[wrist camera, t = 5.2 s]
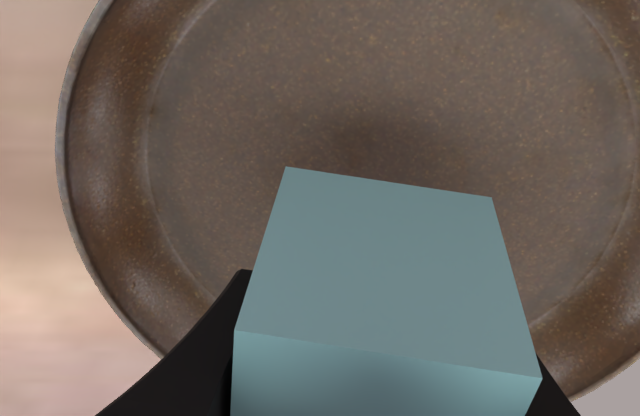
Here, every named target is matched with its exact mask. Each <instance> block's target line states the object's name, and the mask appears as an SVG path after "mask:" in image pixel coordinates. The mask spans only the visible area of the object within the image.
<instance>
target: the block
mask: <svg viewBox="0 0 640 416" xmlns="http://www.w3.org/2000/svg"><path fill="white" fill-rule="evenodd" d="M542 379H543V378H542V374H541V371H540V367H539V364H538V360H537V357H536V353H535V350H534V346H533V342H532V339H531V335H530V332H529V328H528V325H527V321H526V318H525V314H524V311H523V307H522V303H521V300H520V296H519V293H518V289H517V286H516V282H515V279H514V275H513V272H512V268H511V264H510V261H509V257H508V254H507V250H506V247H505V243H504V240H503V236H502V233H501V229H500V225H499V222H498V218H497V215H496V211H495V208H494V204H493V201H492V197H486V196H479V195H472V194H466V193H459V192H453V191H446V190H439V189H433V188H426V187H419V186H413V185H406V184H399V183H393V182H386V181H379V180H373V179H366V178H360V177H353V176H346V175H340V174H333V173H326V172H320V171H313V170H306V169H300V168H293V167H287V166H286V167H285V170H284V173H283V177H282V180H281V183H280V186H279V189H278V193H277V196H276V199H275V202H274V205H273V208H272V212H271V215H270V218H269V221H268V224H267V227H266V231H265V234H264V237H263V240H262V243H261V246H260V250H259V253H258V256H257V259H256V262H255V266H254V269H253V272H252V275H251V278H250V281H249V285H248V288H247V291H246V294H245V297H244V300H243V304H242V307H241V310H240V313H239V316H238V319H237V323H236V326H235V329H234V345H233V366H232V387H231V409H230V416H525V414H526V412H527V410H528V408H529V406H530V404H531V402H532V400H533V398H534V396H535V394H536V391H537V389H538V387H539V385H540V383H541V381H542Z"/></svg>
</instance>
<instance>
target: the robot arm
mask: <svg viewBox="0 0 640 416" xmlns="http://www.w3.org/2000/svg"><path fill="white" fill-rule="evenodd" d="M252 272H253V270H247V269H240V270H238V271H237V272H236V273H235V274H234V276H233V277H232V279H231V280H230V282H229V283H228V285H227V286H226V287H225V289H224V290H223V291H222V293H221V294H220V295H219V297H218V298H217V299H216V300H215V302H214V303H213V304H212V305H211V307H210V308H209V309H208V310H207V311H206V313H205V314H204V315H203V316H202V317H201V318H200V319H199V321H198V322H197V323H196V324H195V325H194V326H193V327H192V329H191V330H190V331H189V332H188V333H187V334H186V335H185V336H184V337H183V338H182V339H181V340H180V341H179V342H178V343H177V344H176V345H175V346H174V347H173V348H172V349H171V350H170V351H169V352H168V353H167V354H166V355H165V356H164V357H163V359H162V360H161V361H159V362H158V363H157V364H156V365H155V366H154V367H153V368H152V369H151V370H150V371H149V372H148V373H147V374H145V375H144V376H143V377H142V378H141V379H140V380H139V381H137V382H136V383H135V384H134V385H133V386H132V387H130V388H129V389H128V390H127V391H126V392H125V393H123V394H122V395H121V396H120V397H118V398H117V399H116V400H114V401H113V402H112V403H111V404H109V405H108V406H107V407H105V408H104V409H103V410H102V411H100V412H99V413H98V414H96V415H95V416H230V409H231V387H232V366H233V345H234V329H235V326H236V323H237V319H238V316H239V313H240V310H241V307H242V304H243V300H244V297H245V294H246V291H247V288H248V285H249V281H250V278H251V275H252ZM535 353H536V352H535ZM536 357H537V360H538V364H539V367H540V371H541V374H542V378H543V379H542V381H541V383H540V385H539V387H538V389H537V391H536V394H535V396H534V398H533V400H532V402H531V404H530V406H529V408H528V410H527V412H526V414H525V416H580V414H579V413H578V412H577V410H576V409H575V408H574V406H573V405H572V404H571V402H570V401H569V400H568V398H567V397H566V395H565V394H564V393H563V391H562V390H561V388H560V387H559V386H558V384H557V383H556V381H555V380H554V378H553V377H552V376H551V374H550V373H549V371H548V370H547V368H546V367H545V365H544V364H543V363H542V361H541V360H540V358H539V357H538V355H537V354H536Z"/></svg>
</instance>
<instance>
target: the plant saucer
mask: <svg viewBox="0 0 640 416" xmlns="http://www.w3.org/2000/svg"><path fill="white" fill-rule="evenodd" d="M55 157H56V172H57V180H58V187H59V192H60V198H61V201H62V205H63V211H64V214H65V216H66V219H67V223H68V226H69V230H70V232H71V235H72V237H73V240H74V243H75V245H76V248H77V250H78V252H79V254H80V256H81V259H82V261H83V263H84V265H85V267H86V269H87V271H88V272H89V274H90V275H91V277H92V279H93V280H94V282H95V285H96V286H97V287H98V289H99V291H100V292H101V294H102V295H103V297H104V298H105V300H106V301H107V302H108V304H109V305H110V306H111V308H112V309H113V310H114V312H115V313H116V314H117V315H118V317H119V318H120V319H121V320H122V322H123V323H124V324H125V325H126V326H127V327H128V328H129V329H130V330H131V331H132V332H133V334H134V335H135V336H136V337H137V338H138V339H139V340H140V341H141V342H142V343H143V344H144V345H145V346H147V347H148V348H149V349H150V350H152V351H153V352H154V353H155V354H156V355H157V356H158V357H159V358H160V359H161V360H162V359H163V357H164V356H165V355H166V354H167V353H168V352H169V351H170V350H171V349H172V348H173V347H174V346H175V345H176V344H177V343H178V342H179V341H180V340H181V339H182V338H183V337H184V336H185V335H186V334H187V333H188V332H189V331H190V330H191V329H192V327H193V326H194V325H195V324H196V323H197V322H198V321H199V319H200V318H201V317H202V316H203V315H204V314H205V313H206V311H207V310H208V309H209V308H210V307H211V305H212V304H213V303H214V302H215V300H216V299H217V298H218V297H219V295H220V294H221V293H222V291H223V290H224V289H225V287H226V286H227V285H228V283H229V282H230V280H231V279H232V277H233V276H234V274H235V273H236V272H237V271H238V270H240V269H247V270H253V269H254V266H255V262H256V259H257V256H258V253H259V250H260V246H261V243H262V240H263V237H264V234H265V231H266V227H267V224H268V221H269V218H270V215H271V212H272V208H273V205H274V202H275V199H276V196H277V193H278V189H279V186H280V183H281V180H282V177H283V173H284V170H285V167H286V166H287V167H293V168H300V169H306V170H313V171H320V172H326V173H333V174H340V175H346V176H353V177H360V178H366V179H373V180H379V181H386V182H393V183H399V184H406V185H413V186H419V187H426V188H433V189H439V190H446V191H453V192H459V193H466V194H472V195H479V196H486V197H492V201H493V204H494V208H495V211H496V215H497V218H498V222H499V225H500V229H501V233H502V236H503V240H504V243H505V247H506V250H507V254H508V257H509V261H510V264H511V268H512V272H513V275H514V279H515V282H516V286H517V289H518V293H519V296H520V300H521V303H522V307H523V311H524V314H525V318H526V321H527V325H528V328H529V332H530V335H531V339H532V342H533V346H534V350H535V352H536V354H537V355H538V357H539V358H540V360H541V361H542V363H543V364H544V365H545V367H546V368H547V370H548V371H549V373H550V374H551V376H552V377H553V378H554V380H555V381H556V383H557V384H558V386H559V387H560V388H561V390H562V391H563V393H564V394H565V395H566V397H567V398H568V400H569V401H570V402H572V401H574V400H576V399H578V398H580V397H582V396H584V395H586V394H588V393H590V392H592V391H594V390H596V389H597V388H599V387H600V386H602V385H603V384H605V383H606V382H608V381H609V380H611V379H612V378H614V377H615V376H617V375H618V374H620V373H621V372H622V371H624V370H625V369H627V368H628V367H629V366H631V365H632V364H633V363H635V362H636V361H637V360H639V359H640V0H99V1H98V3H97V4H96V6H95V8H94V10H93V11H92V13H91V15H90V16H89V18H88V20H87V22H86V24H85V26H84V28H83V30H82V32H81V34H80V36H79V38H78V41H77V43H76V45H75V47H74V50H73V53H72V55H71V58H70V61H69V64H68V67H67V71H66V74H65V78H64V82H63V86H62V90H61V94H60V98H59V106H58V115H57V123H56V142H55Z"/></svg>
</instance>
